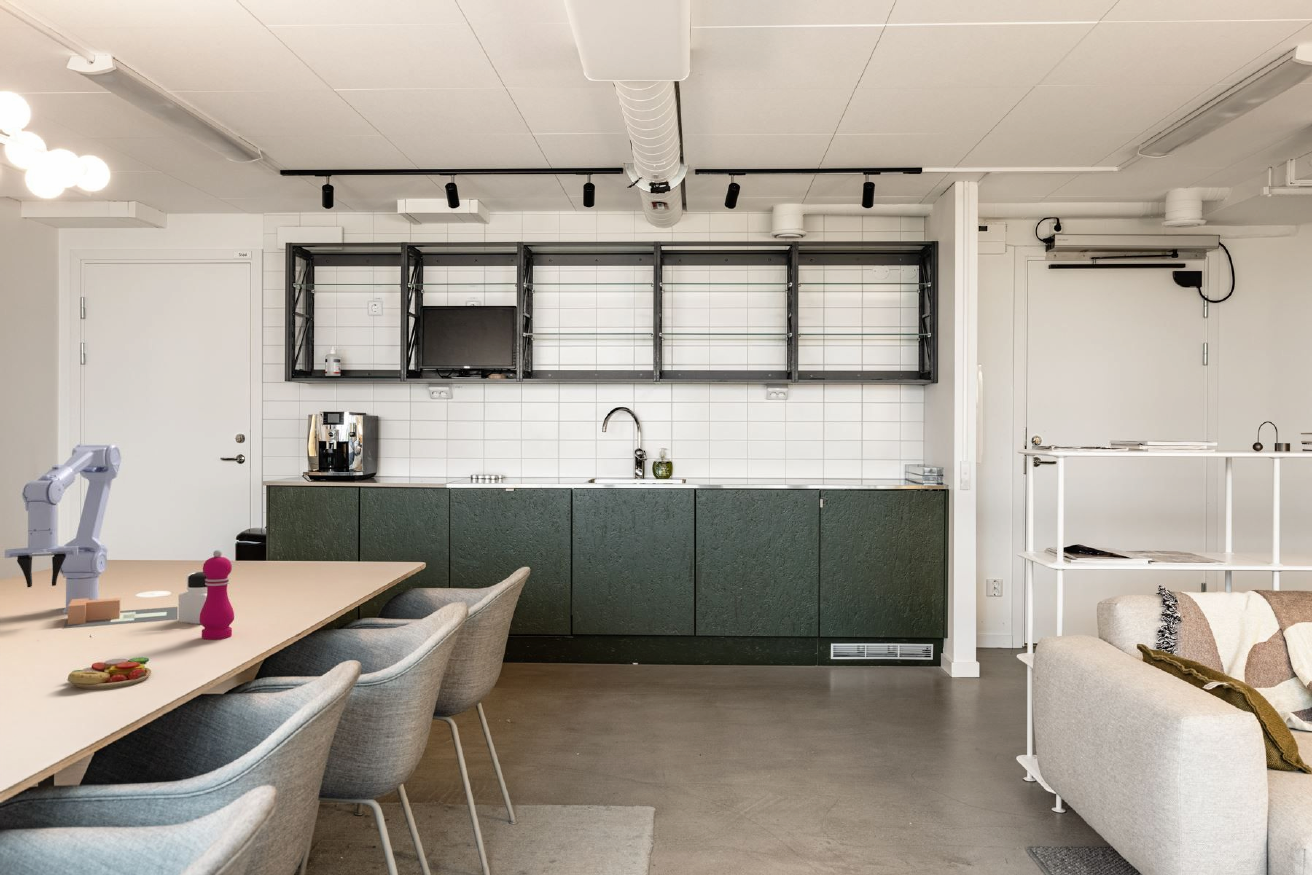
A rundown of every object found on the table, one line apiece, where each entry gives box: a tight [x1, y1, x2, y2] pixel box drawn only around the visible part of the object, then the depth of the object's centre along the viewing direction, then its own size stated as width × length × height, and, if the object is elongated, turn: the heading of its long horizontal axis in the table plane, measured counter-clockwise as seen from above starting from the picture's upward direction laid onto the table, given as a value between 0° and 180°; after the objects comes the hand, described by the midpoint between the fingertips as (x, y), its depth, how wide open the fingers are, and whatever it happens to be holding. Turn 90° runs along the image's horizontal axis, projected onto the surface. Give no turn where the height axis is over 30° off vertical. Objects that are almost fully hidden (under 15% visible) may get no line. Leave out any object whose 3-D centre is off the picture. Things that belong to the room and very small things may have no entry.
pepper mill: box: [199, 549, 235, 641], centre depth 205 cm, size 7×7×20 cm
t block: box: [67, 597, 121, 625], centre depth 221 cm, size 10×10×4 cm
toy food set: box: [67, 656, 153, 690], centre depth 169 cm, size 13×13×3 cm
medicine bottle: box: [177, 571, 207, 625], centre depth 222 cm, size 7×7×12 cm
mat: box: [61, 606, 179, 630], centre depth 224 cm, size 18×24×1 cm
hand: (41, 585), depth 216 cm, fingers open, 4 cm apart
